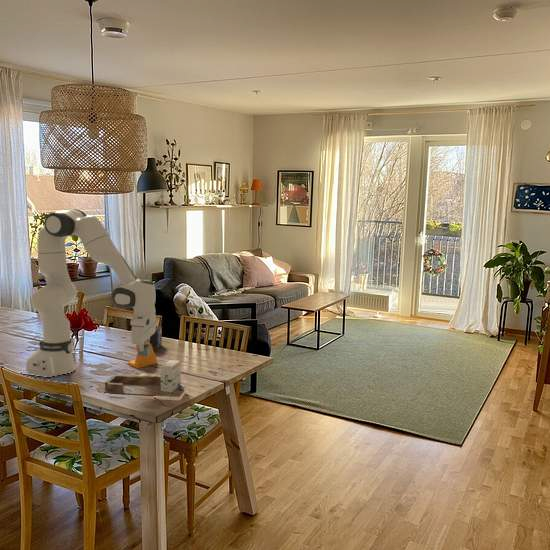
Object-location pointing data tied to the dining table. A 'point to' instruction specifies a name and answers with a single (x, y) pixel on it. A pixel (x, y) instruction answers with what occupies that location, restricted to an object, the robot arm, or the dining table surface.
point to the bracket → (144, 359)
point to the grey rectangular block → (146, 351)
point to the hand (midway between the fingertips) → (144, 349)
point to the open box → (117, 381)
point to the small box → (156, 338)
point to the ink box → (170, 375)
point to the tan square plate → (146, 374)
